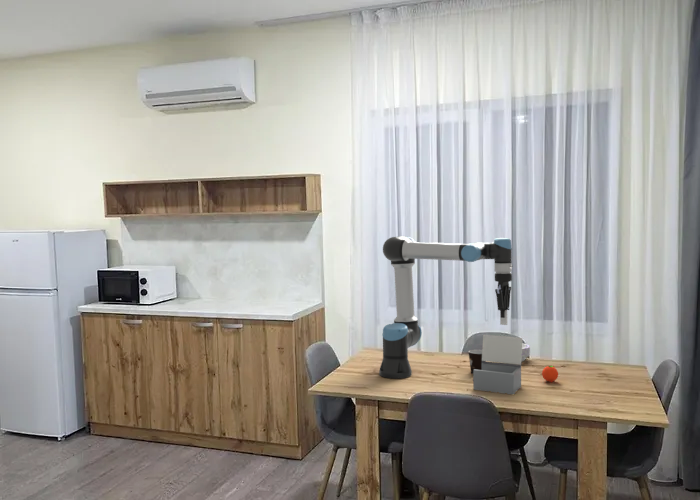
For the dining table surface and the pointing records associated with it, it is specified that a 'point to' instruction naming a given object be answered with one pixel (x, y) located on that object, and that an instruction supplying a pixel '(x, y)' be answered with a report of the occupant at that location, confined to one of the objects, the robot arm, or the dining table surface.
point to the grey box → (497, 377)
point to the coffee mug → (475, 360)
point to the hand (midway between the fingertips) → (503, 324)
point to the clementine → (550, 373)
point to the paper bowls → (525, 351)
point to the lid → (502, 349)
